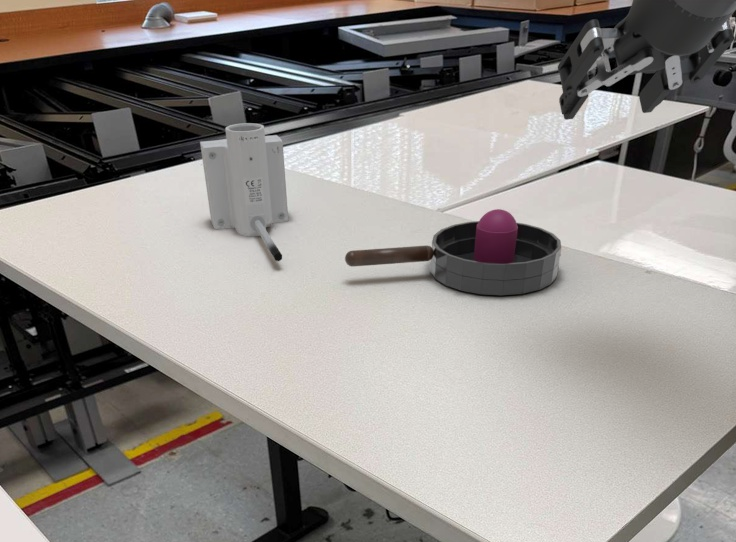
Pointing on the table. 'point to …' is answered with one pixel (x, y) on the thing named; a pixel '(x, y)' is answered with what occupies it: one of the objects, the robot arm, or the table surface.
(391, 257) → the pan handle
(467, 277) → the pan
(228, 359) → the table surface
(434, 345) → the table surface
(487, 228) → the magenta domed cylinder
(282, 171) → the electronic device
